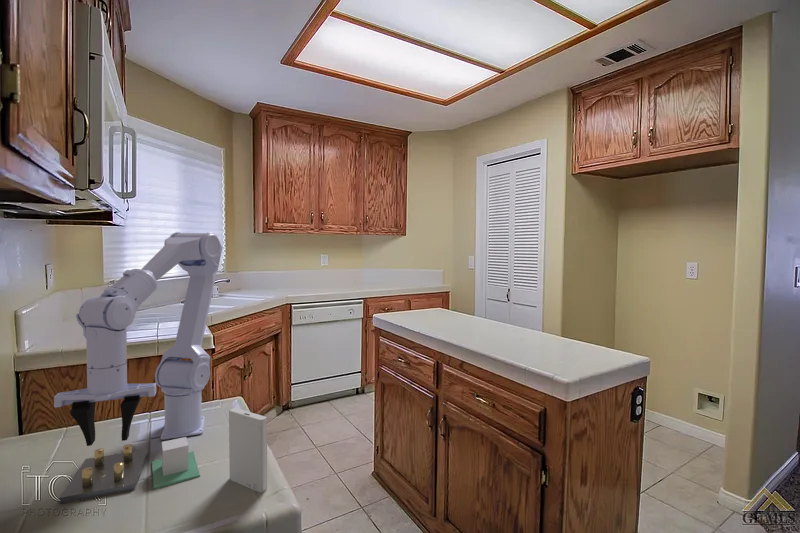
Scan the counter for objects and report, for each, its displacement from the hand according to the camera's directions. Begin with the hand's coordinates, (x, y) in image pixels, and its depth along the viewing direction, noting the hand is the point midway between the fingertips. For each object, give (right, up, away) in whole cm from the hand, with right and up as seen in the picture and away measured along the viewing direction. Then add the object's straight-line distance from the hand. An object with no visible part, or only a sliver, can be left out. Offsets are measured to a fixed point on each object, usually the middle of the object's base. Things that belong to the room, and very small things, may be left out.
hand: (108, 440), depth 72 cm
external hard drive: (+25, -7, -2) cm, 26 cm away
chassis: (0, -6, 0) cm, 6 cm away
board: (+10, -7, +3) cm, 13 cm away
